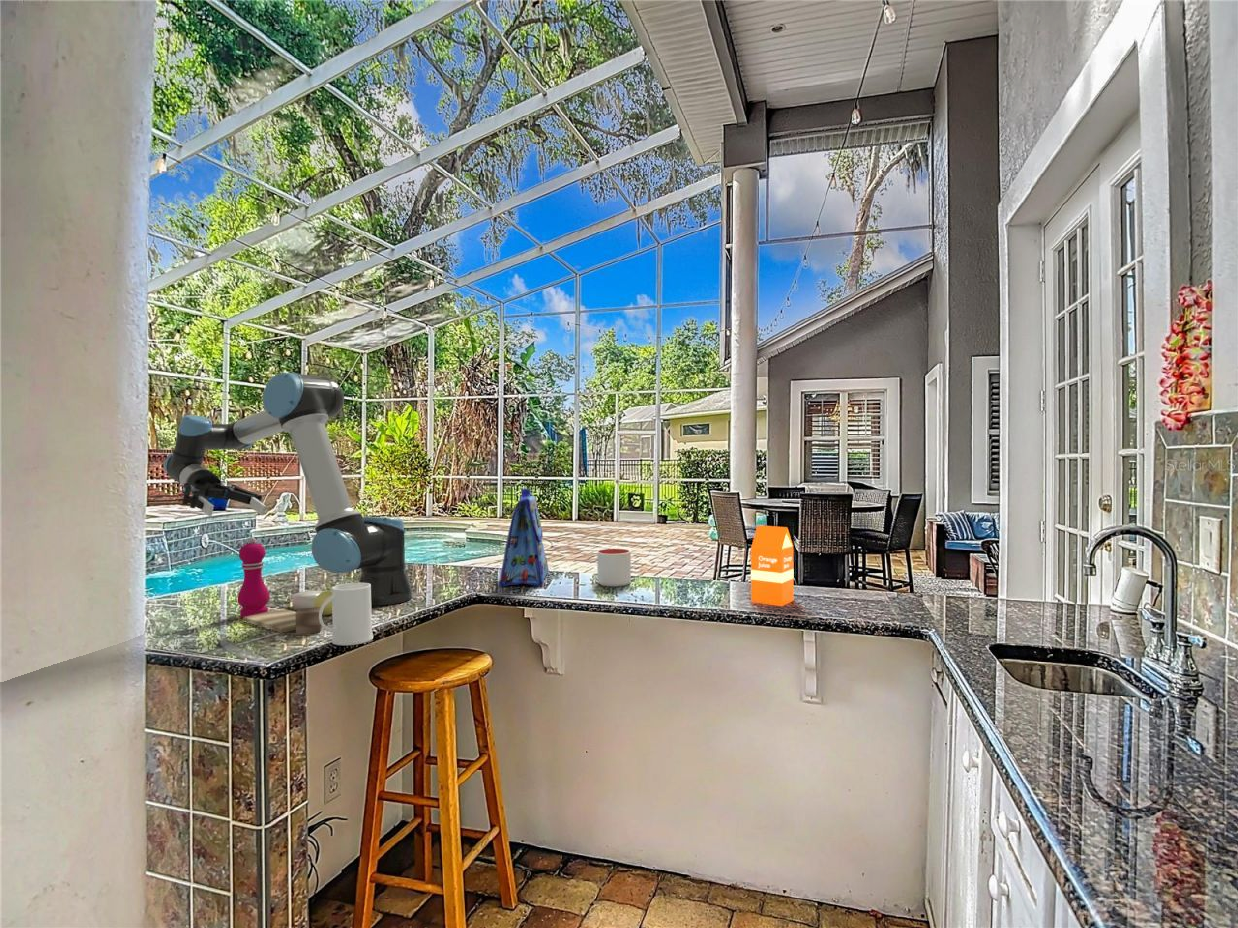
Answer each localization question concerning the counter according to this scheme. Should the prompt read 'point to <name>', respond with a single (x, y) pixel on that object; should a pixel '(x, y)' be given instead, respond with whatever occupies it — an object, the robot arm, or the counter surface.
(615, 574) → the cup
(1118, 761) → the counter surface
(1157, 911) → the counter surface
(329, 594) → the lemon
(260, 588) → the pepper mill
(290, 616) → the serving board
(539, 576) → the lunch bag
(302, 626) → the walnut block
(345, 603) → the mug
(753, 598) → the orange juice
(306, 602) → the white rounded piece
